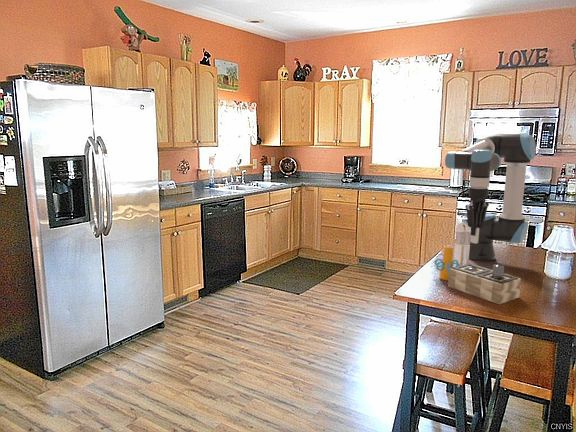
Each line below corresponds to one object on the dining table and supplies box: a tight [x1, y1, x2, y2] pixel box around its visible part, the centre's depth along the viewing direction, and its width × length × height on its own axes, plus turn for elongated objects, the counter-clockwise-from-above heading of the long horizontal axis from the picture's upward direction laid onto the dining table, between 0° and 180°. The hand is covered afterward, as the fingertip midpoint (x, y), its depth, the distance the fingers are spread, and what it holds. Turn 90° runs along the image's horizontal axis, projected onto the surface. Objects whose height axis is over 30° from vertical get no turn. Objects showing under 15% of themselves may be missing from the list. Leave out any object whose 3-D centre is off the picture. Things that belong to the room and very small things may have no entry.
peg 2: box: [492, 263, 505, 280], centre depth 184 cm, size 4×4×8 cm
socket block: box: [447, 263, 522, 305], centre depth 190 cm, size 14×24×8 cm, turn 33°
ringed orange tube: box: [434, 245, 460, 281], centre depth 206 cm, size 12×10×15 cm
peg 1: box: [466, 267, 477, 272], centre depth 195 cm, size 4×4×8 cm
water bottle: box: [453, 218, 471, 267], centre depth 218 cm, size 7×7×25 cm
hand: (474, 242), depth 192 cm, fingers closed
